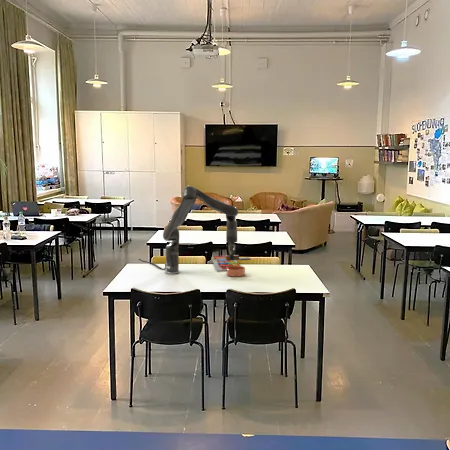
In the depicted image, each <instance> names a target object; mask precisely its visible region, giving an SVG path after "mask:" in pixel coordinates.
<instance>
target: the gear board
mask: <svg viewBox="0 0 450 450" xmlns="http://www.w3.org/2000/svg"><path fill="white" fill-rule="evenodd" d="M210 259H211V261H212V263H213V265H214V267H215V269H216V271H217V272H227V267H229V266H241V264H240V263H239V262H238V260H231V261H226V255H213V257H211V258H210Z"/></svg>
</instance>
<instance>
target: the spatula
mask: <svg viewBox="0 0 450 450" xmlns="http://www.w3.org/2000/svg"><path fill="white" fill-rule="evenodd" d="M225 257H226V261H231V255H230V254H228V255H225ZM234 260H237V261H252V259H251V258H250V257H248V256H246V257H240V255H239V254H234Z"/></svg>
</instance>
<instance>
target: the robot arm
mask: <svg viewBox="0 0 450 450" xmlns="http://www.w3.org/2000/svg"><path fill="white" fill-rule="evenodd" d="M197 200H200V201H201V202H203V203H204V204H205V205H206V206H207V207H208V208H210V209H211V210H214V211H216V212H217V213H222V214H225V219H226V220H225V221H226V232H225V233H226V234H225V235H226V238H225V239H226V243H228V244H227V251H228V255H231V260H234V255H236V250H237V246H236V244H235V243H238V221H237V219H236V217H237V216H238V214H239V209H238V208H237V207H236V206H233V205H230V204H228V203H225V202H223V201H221V200H219V199H216V198H214V197H211V196H210V195H208V194H207V193H205V192H203V191H201V190H200V189H198V188H196V187H194V186H191V185H187V186H185V187H184V189H183V191H182V197H181V202H180V204H179V205H178V207H176V209H175V210H174V211H173V214H172V215H171V218H170V220H169V222H168V223H167V225H166V226H165V228H164V229H163V232H162V233H163V234H162V238H163V240H164V241H166V242H170V243H168V244H167V245H166V246H165V263H164V268H162V267H160V266H159V265H158V264H156V263H154V262H150V261H148V260H143V259H141V258H139V259H138V261H141V262H142V263H147V264H151V265H153V266H155V267H156V268H158V269H160V270H163V271H164V270H165V273H166V274H168V275H177V274H179V272H180V264H179V263H180V260H179V259H180V258H179V247H180V230H179V227H181V226H182V225H183V224H184V223H185V221H186V219H187V217H188V215H189V213H190V210H191V208H192V207H193V206H194V204H195V203H196V201H197Z"/></svg>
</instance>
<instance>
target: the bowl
mask: <svg viewBox="0 0 450 450" xmlns="http://www.w3.org/2000/svg"><path fill="white" fill-rule="evenodd" d="M226 275H227V276H229V277H233V278H234V277H237V278H238V277H244V276H245V275H246V267H245V266H242V265H240V266H229V267H227V271H226Z"/></svg>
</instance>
